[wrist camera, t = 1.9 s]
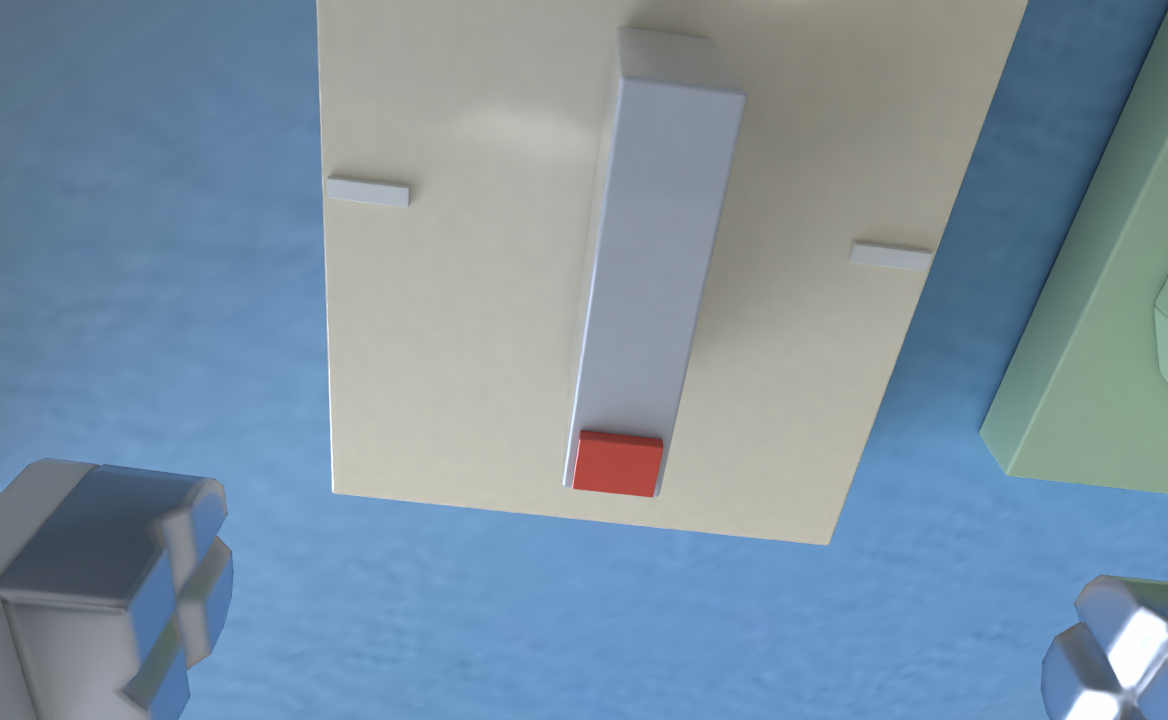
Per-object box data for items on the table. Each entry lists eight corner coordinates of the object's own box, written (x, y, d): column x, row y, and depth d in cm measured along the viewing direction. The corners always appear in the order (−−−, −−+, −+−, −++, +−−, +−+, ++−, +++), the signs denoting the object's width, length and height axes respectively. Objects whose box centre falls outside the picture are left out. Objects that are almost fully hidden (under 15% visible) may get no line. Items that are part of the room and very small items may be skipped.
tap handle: (615, 24, 13) (620, 79, 10) (715, 37, 13) (752, 97, 10) (567, 373, 17) (560, 498, 14) (648, 382, 17) (660, 509, 14)
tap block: (358, -291, 14) (300, -326, 11) (1013, -191, 14) (1110, -200, 12) (363, 415, 21) (329, 499, 18) (802, 463, 22) (831, 552, 19)
